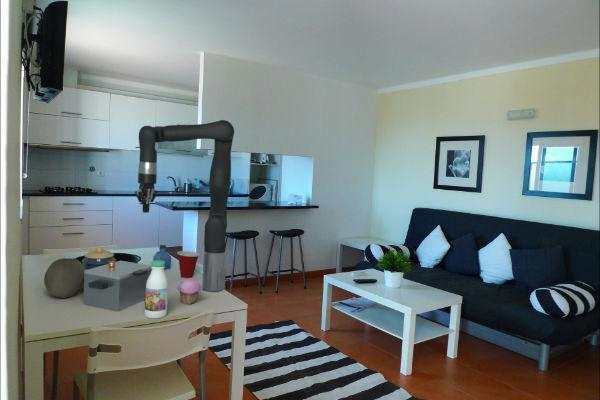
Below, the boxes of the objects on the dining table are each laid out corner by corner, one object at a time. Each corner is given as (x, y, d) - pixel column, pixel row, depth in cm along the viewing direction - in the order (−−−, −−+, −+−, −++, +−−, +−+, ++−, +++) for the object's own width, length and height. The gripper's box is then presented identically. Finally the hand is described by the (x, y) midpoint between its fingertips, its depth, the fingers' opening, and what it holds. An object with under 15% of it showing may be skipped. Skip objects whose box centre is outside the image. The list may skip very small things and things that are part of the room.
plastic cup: (202, 278, 201) (203, 254, 200) (180, 280, 194) (182, 255, 193) (193, 272, 210) (194, 249, 209) (172, 274, 203) (173, 250, 202)
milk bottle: (147, 311, 154) (150, 258, 152) (169, 311, 154) (171, 259, 153) (141, 318, 146) (144, 263, 144) (163, 319, 147) (166, 264, 145)
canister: (119, 288, 176) (121, 248, 175) (87, 294, 167) (89, 251, 165) (107, 281, 185) (108, 242, 184) (76, 286, 176) (77, 245, 174)
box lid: (158, 269, 167) (159, 262, 167) (126, 280, 149) (126, 272, 149) (120, 262, 172) (120, 255, 172) (84, 273, 154) (84, 265, 154)
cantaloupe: (80, 301, 157) (82, 263, 156) (38, 302, 153) (39, 263, 152) (88, 290, 171) (89, 255, 170) (50, 291, 167) (51, 254, 166)
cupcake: (189, 297, 171) (190, 274, 171) (204, 302, 167) (206, 278, 166) (172, 303, 164) (173, 278, 163) (188, 308, 159) (189, 283, 159)
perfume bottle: (170, 268, 214) (171, 245, 213) (160, 270, 209) (161, 247, 208) (162, 266, 217) (163, 244, 216) (152, 268, 212) (154, 245, 211)
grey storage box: (151, 297, 169) (152, 268, 168) (112, 314, 148) (113, 281, 147) (119, 290, 173) (120, 262, 172) (76, 306, 152) (77, 274, 151)
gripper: (145, 173, 171) (143, 214, 172) (164, 173, 183) (162, 212, 185) (129, 171, 173) (128, 212, 174) (149, 172, 185) (148, 210, 187)
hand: (145, 212), depth 179 cm, fingers closed
